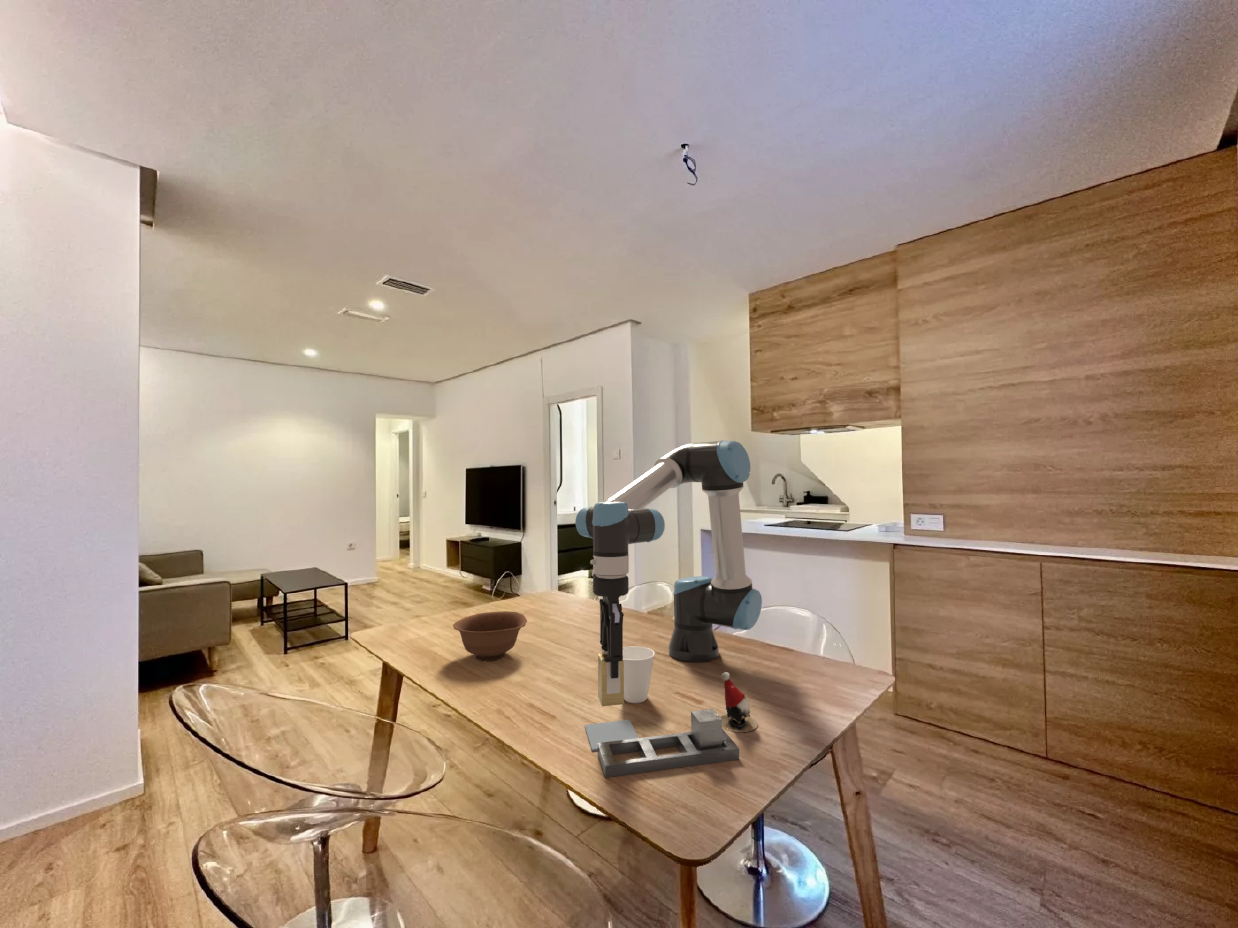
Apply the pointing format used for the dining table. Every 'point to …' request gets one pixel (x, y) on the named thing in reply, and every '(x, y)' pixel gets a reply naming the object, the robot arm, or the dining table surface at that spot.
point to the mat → (609, 732)
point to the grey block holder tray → (654, 762)
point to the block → (706, 729)
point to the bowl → (490, 633)
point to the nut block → (602, 683)
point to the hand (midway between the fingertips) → (610, 686)
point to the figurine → (736, 708)
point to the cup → (637, 673)
